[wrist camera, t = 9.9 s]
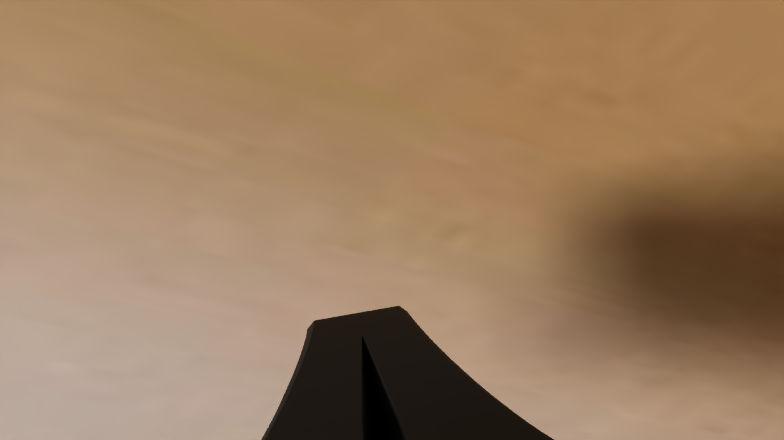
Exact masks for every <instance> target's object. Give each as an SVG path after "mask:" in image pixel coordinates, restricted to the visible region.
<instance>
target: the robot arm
mask: <svg viewBox="0 0 784 440" xmlns="http://www.w3.org/2000/svg"><path fill="white" fill-rule="evenodd" d="M262 440H554V439H552V438H550V437H549V436H547V435H546V434H544V433H543V432H541V431H539V430H538V429H537V428H535V427H534V426H532V425H531V424H529V423H528V422H526V421H525V420H524V419H522V418H521V417H520V416H518V415H517V414H515V413H514V412H513V411H511V410H510V409H509V408H508V407H506V406H505V405H504V404H502V403H501V402H500V401H499V400H497V399H496V398H495V397H494V396H492V395H491V394H490V393H489V392H487V391H486V390H485V389H484V388H483V387H481V386H480V385H479V384H478V383H477V382H475V381H474V380H473V379H472V378H471V377H470V376H469V375H468V374H467V373H465V372H464V371H463V370H462V369H461V368H460V367H459V366H458V365H457V364H456V363H454V362H453V361H452V360H451V359H450V358H449V357H448V356H447V355H446V354H445V353H444V352H443V351H442V350H441V349H440V348H439V347H438V346H437V345H436V344H435V343H434V342H433V341H432V340H431V339H430V338H429V337H428V336H427V335H426V333H425V332H424V331H423V330H422V329H421V328H420V327H419V326H418V325H417V323H416V322H415V321H414V320H413V319H412V317H411V316H410V315H409V313H408V312H407V311H405V310H404V309H403V308H401V307H400V306H395V307H390V308H384V309H378V310H372V311H367V312H361V313H355V314H350V315H344V316H338V317H332V318H327V319H321V320H315V321H314V322H313V323H312V324H311V325H310V327H309V328H308V329H307V335H306V339H305V343H304V346H303V349H302V352H301V355H300V358H299V361H298V363H297V366H296V369H295V371H294V374H293V376H292V379H291V381H290V383H289V385H288V387H287V390H286V392H285V394H284V396H283V399H282V401H281V403H280V405H279V407H278V410H277V412H276V414H275V416H274V418H273V419H272V421H271V423H270V425H269V427H268V429H267V430H266V432H265V434H264V436H263V438H262Z"/></svg>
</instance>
